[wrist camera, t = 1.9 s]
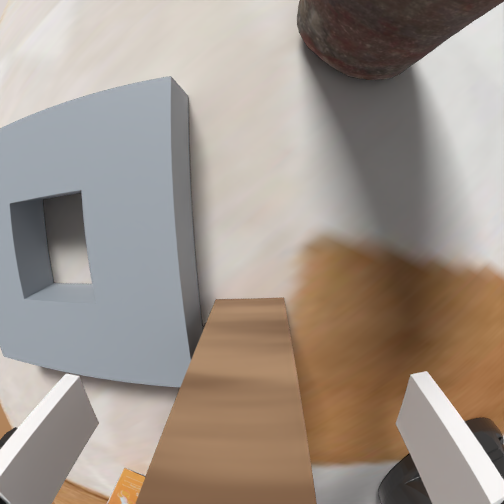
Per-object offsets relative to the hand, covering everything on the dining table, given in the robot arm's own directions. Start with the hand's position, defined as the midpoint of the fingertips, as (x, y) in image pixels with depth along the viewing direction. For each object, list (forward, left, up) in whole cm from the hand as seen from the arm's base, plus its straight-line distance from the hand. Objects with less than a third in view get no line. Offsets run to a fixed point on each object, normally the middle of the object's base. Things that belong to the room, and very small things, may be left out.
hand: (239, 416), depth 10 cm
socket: (+6, +11, -8) cm, 15 cm away
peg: (0, 0, -8) cm, 8 cm away
